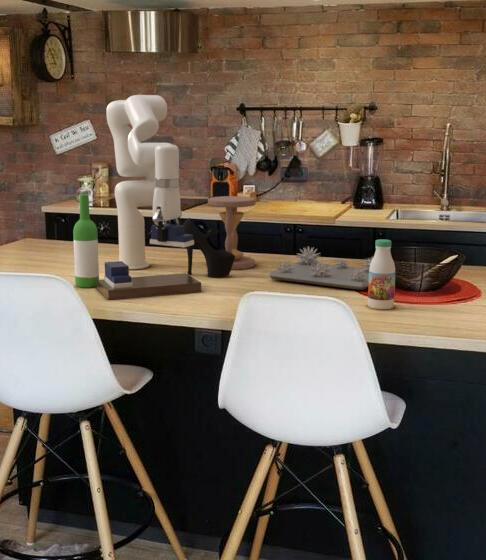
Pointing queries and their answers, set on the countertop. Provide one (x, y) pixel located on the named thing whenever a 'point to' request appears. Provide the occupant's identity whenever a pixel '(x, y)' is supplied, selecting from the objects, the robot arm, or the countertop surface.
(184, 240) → the blue pale-edged block
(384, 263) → the milk bottle
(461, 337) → the countertop surface
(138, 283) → the dark brown flat board
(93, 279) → the wine bottle
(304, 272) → the decorative tray
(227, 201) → the hourglass
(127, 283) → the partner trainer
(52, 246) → the countertop surface
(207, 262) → the high-heeled shoe
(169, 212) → the robot arm
